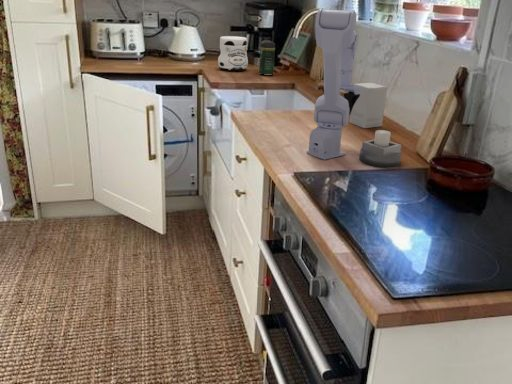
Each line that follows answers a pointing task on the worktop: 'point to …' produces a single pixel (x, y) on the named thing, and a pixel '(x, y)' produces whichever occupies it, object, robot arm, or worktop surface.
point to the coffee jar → (267, 57)
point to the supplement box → (369, 105)
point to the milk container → (233, 53)
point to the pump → (382, 138)
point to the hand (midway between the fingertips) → (338, 112)
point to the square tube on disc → (380, 155)
